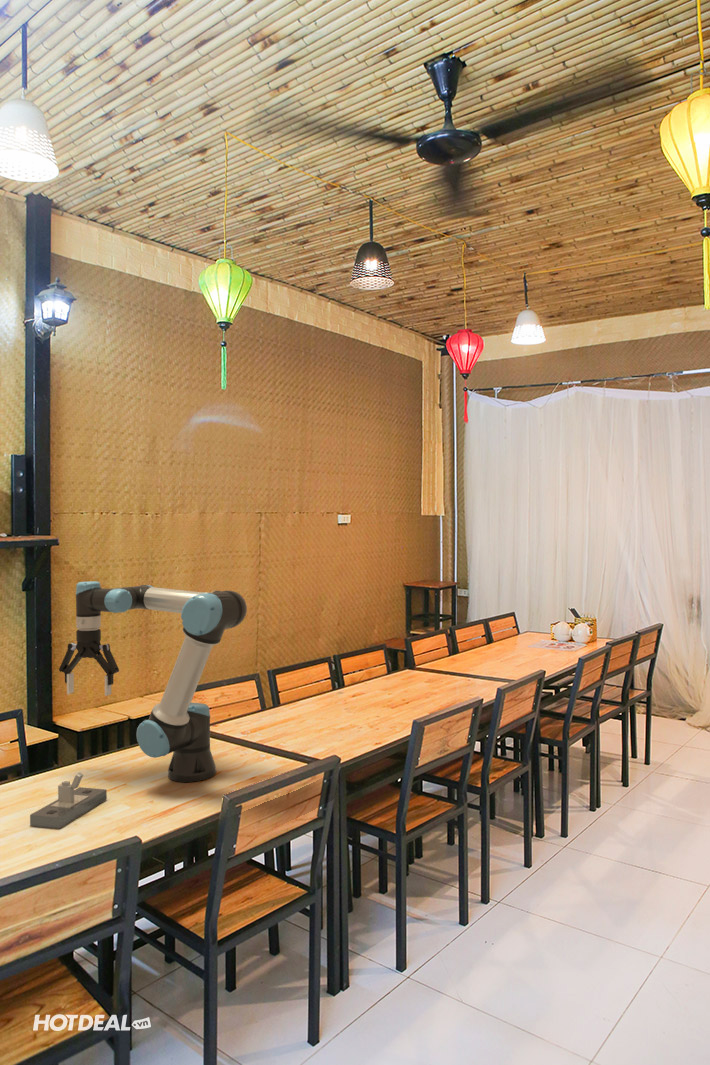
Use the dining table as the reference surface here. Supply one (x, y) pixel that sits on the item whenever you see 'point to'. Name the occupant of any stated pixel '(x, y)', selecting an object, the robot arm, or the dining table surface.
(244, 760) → the dining table surface
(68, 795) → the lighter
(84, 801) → the dark grey rectangular base
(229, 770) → the dining table surface
